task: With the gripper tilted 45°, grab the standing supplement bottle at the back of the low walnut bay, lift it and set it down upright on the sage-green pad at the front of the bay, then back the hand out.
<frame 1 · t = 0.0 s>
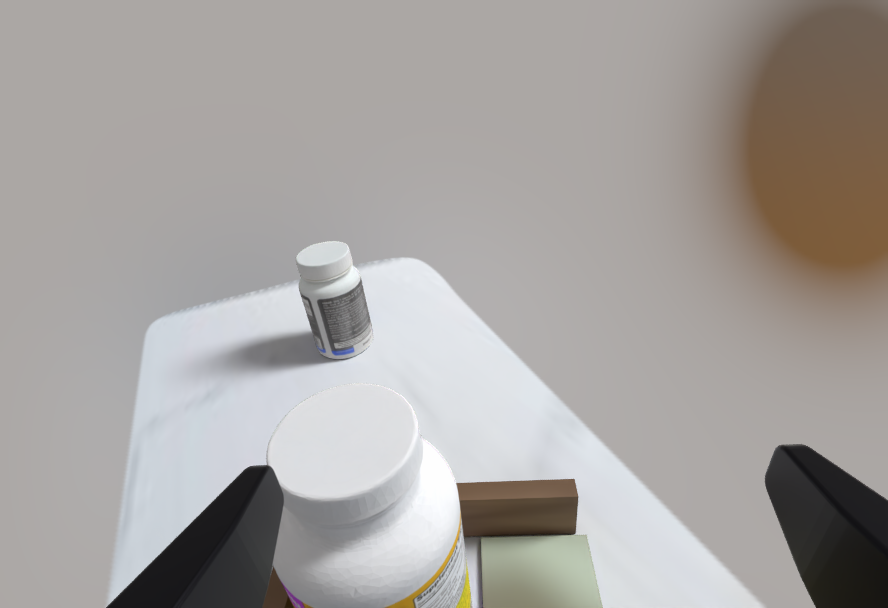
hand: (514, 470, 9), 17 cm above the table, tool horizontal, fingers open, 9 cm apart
pill bottle: (346, 344, 41), on the table
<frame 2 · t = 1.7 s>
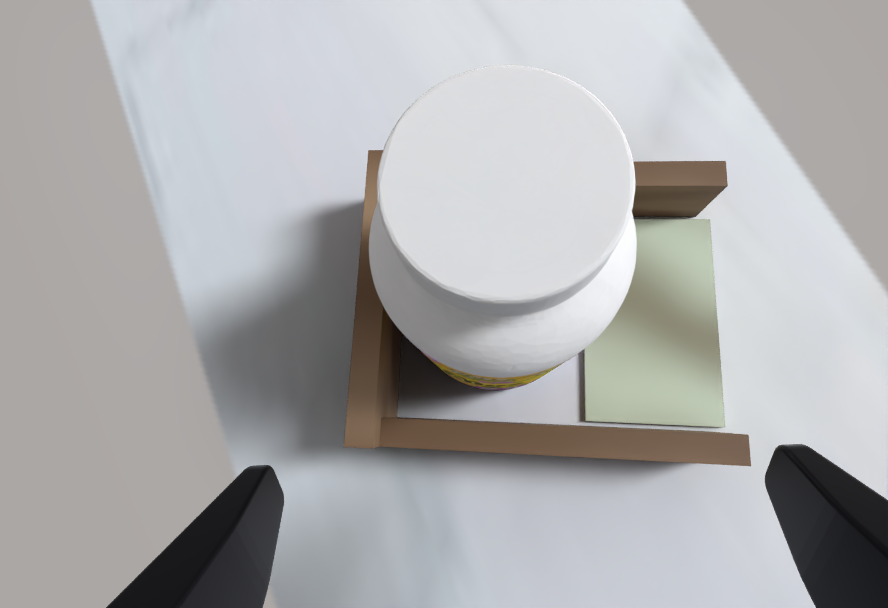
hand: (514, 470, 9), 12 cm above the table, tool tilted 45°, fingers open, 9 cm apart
bay: (542, 315, 21), on the table
supplement bottle: (495, 315, 22), on the table
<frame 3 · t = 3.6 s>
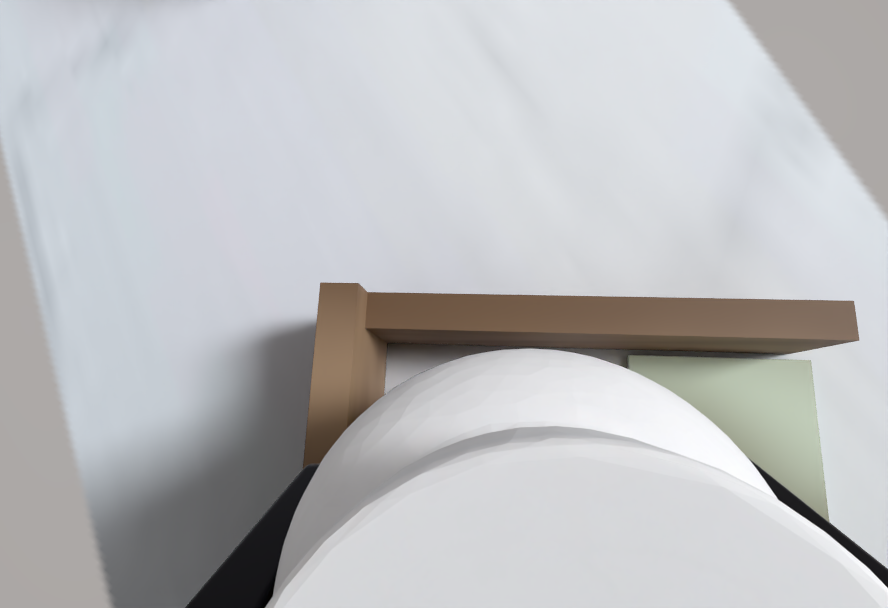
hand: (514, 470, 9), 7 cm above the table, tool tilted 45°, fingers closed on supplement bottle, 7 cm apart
bay: (574, 497, 15), on the table
supplement bottle: (506, 492, 15), on the table, touching gripper
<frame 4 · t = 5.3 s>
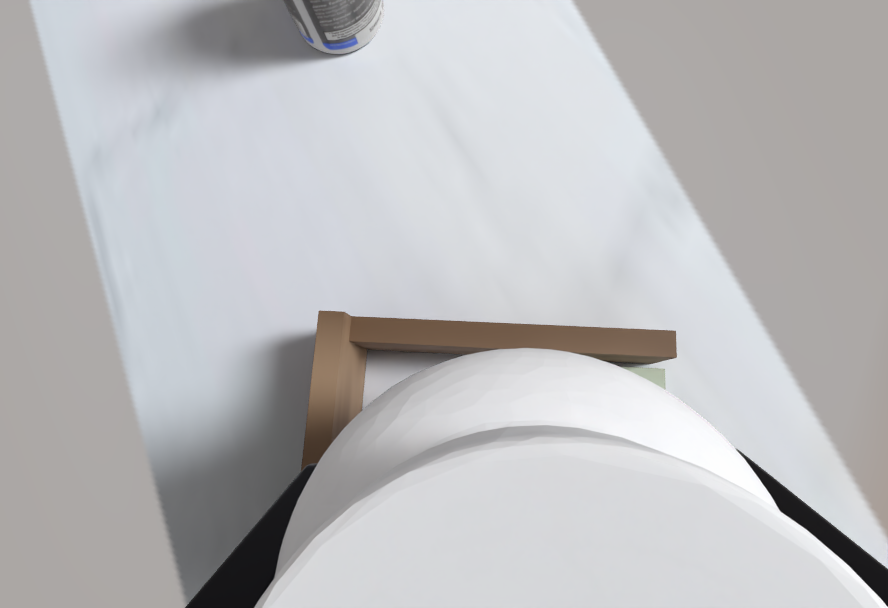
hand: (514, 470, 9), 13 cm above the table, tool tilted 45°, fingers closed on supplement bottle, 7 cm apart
bay: (495, 461, 21), on the table
pill bottle: (342, 20, 27), on the table
supplement bottle: (508, 490, 15), point 6 cm above the table, touching gripper
when the fingers open (8 cm above the table, at t = 7.3 s): supplement bottle stays where it is, resting on bay.
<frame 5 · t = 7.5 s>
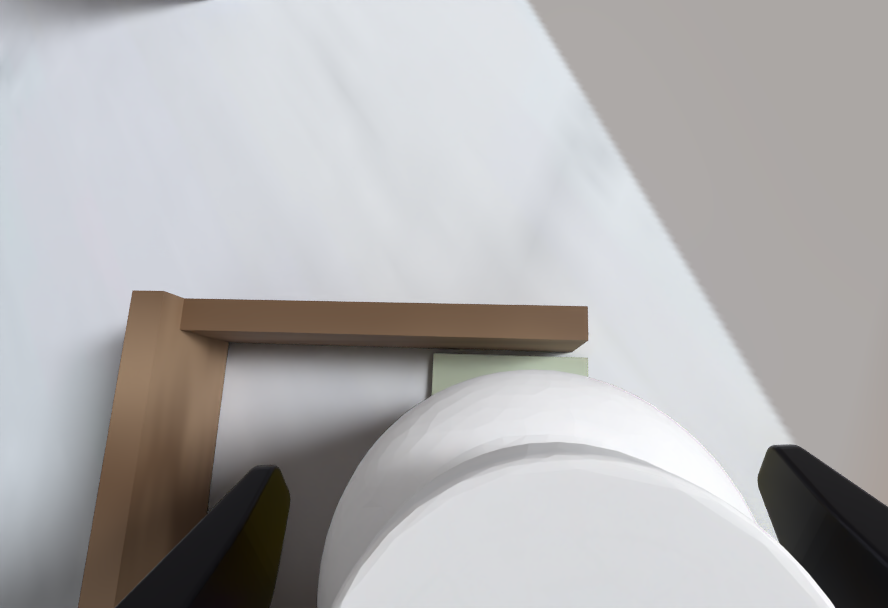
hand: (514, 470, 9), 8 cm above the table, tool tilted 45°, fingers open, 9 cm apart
bay: (379, 478, 17), on the table
supplement bottle: (509, 491, 16), resting on bay
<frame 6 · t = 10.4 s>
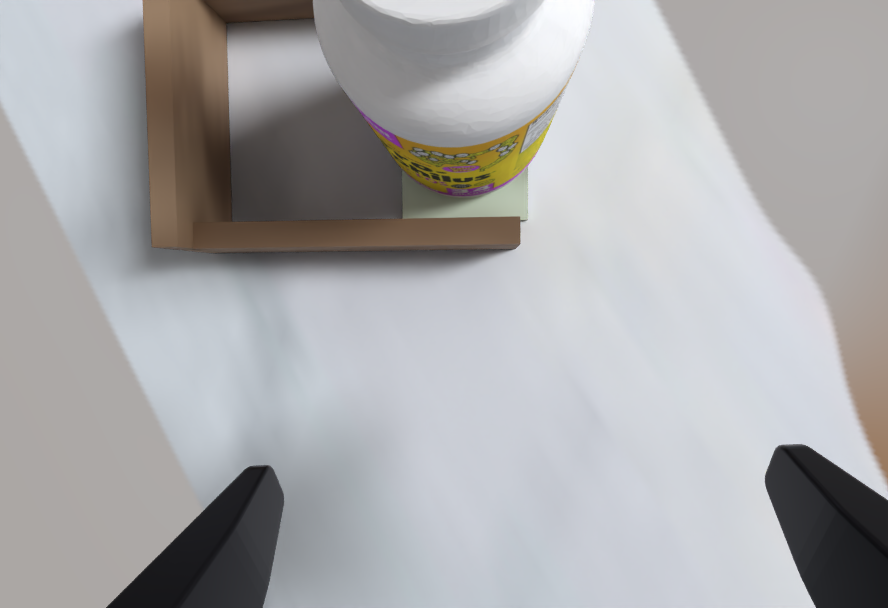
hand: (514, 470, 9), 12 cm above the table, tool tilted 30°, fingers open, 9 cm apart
bay: (363, 122, 21), on the table
supplement bottle: (465, 123, 21), resting on bay
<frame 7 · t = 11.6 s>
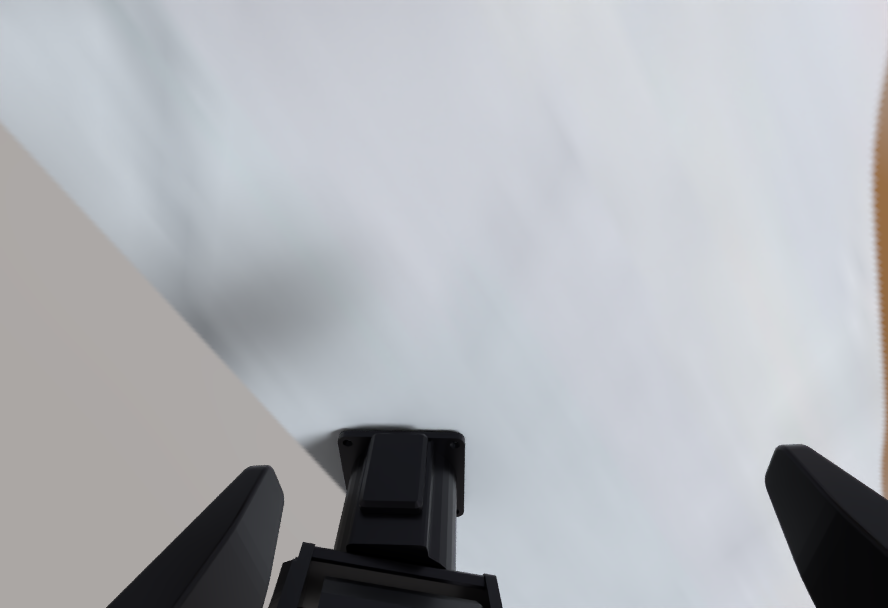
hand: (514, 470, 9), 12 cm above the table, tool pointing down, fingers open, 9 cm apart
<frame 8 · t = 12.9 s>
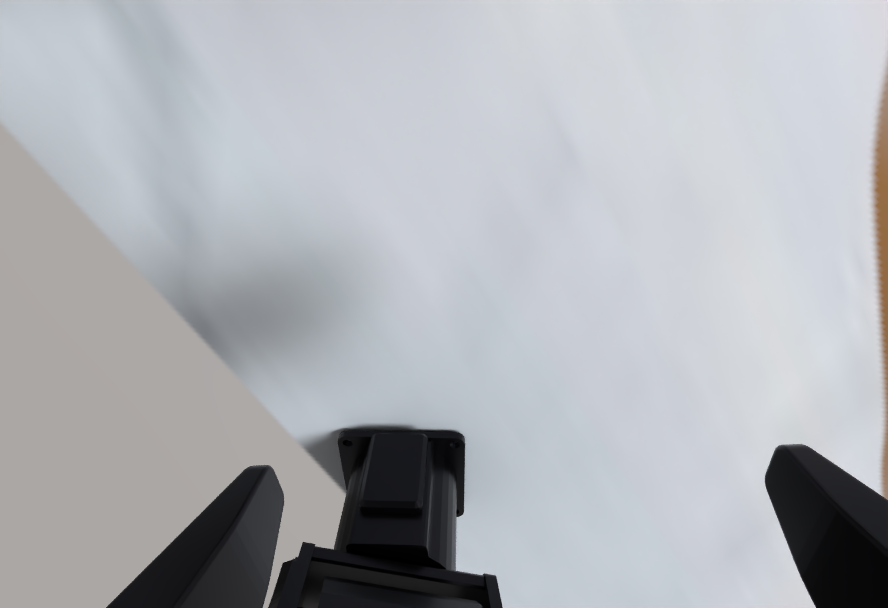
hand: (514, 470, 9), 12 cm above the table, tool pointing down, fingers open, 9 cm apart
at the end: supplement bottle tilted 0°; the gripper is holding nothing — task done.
